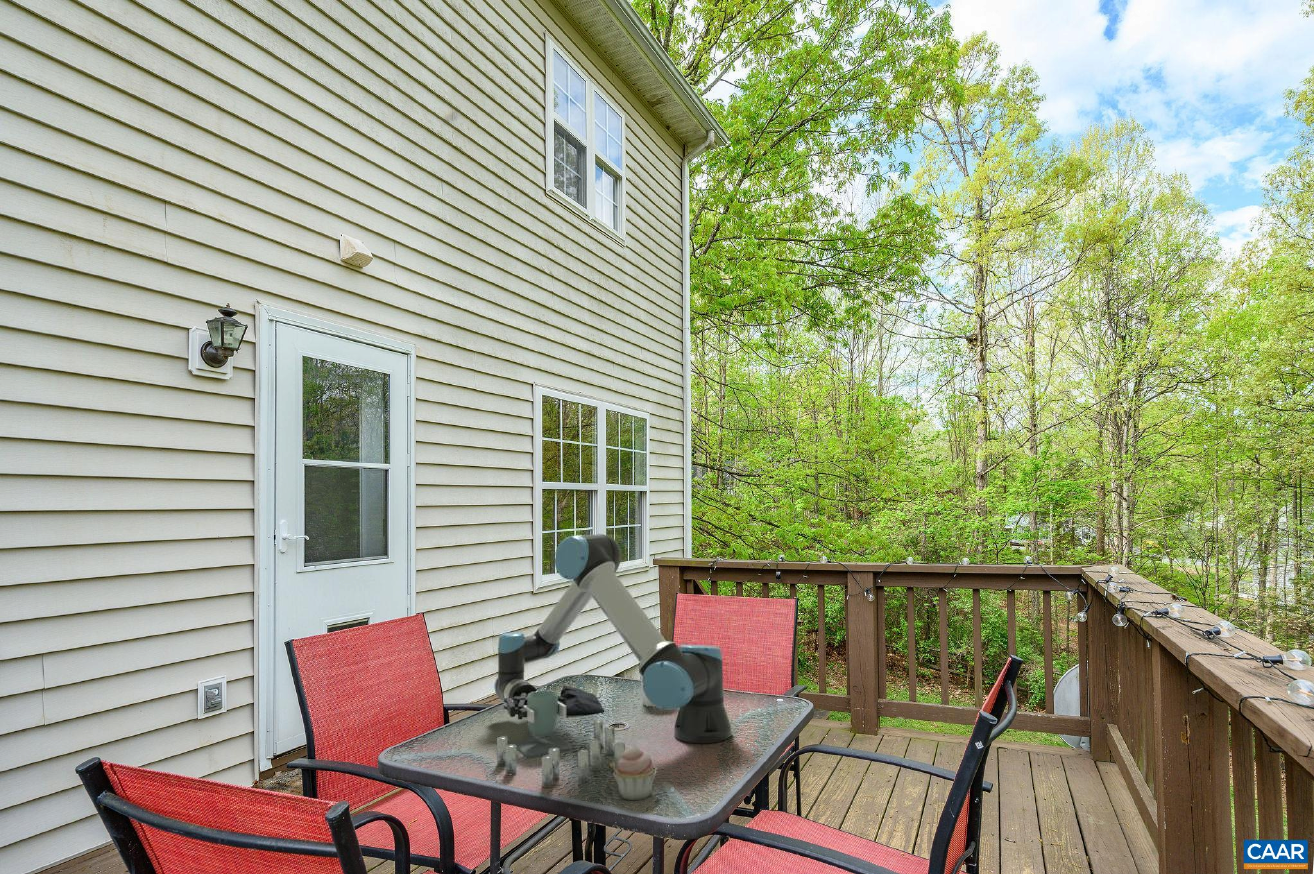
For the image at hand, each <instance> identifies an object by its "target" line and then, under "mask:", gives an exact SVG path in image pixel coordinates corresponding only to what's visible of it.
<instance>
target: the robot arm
mask: <svg viewBox="0 0 1314 874" xmlns="http://www.w3.org/2000/svg"><path fill="white" fill-rule="evenodd" d="M621 550H622V549H621V547H620V545H619V544H618V541H616V540H615V539H614V538H613V537H611V536H610V535H608V534H607V535H606V534H604V533H603V534H601V533H600V534H584V535H583V534H582V535H581V534H575V535H571V536H568V537H567V536H566V538H564V539H563V540H562V541H561V542H560V543H559V544H558V546H557V548H556V551H555V554H554V555H555V558H554V565H555V568H556V571H557V573H558V575H560V577H561V578H563V579H566V580H569V581H572V580H573V581H572V583H571V584H570V585H569V587H568V588H567V589H566V591H565V592H564V594H563V595H562V596H561V598H559V600H558V601H557V603H556V604H555V606H554V607H553V608H552V609H551V611H550V612H549V614H548V615H547V616H546V618H545V620H544V621H543V622H542V623H541V625H540V626H538V628H537V630H536V631H535V632H534V634H532V635H528V636H525V634H524V633H523V632H517V631H515V632H511V631H510V632H504V633H502V634H500V635H499V637H498V644H497V645H498V647H497V654H498V655H497V656H498V657H497V659H498V661H497V665H498V669H497V670H498V671H497V678H496V679H495V682H494V684H493V685H494V687H493V688H494V692H495V693H496V695H497V696H498V698H499V699H500V700H501V701H503V709H504V710H506V711H507V713H508V715H509V717H511V718H514V717H516V715H517V720H523V719H525V720H527V722H528V721H529V722H531V723H534V711H533V710H532V709H531V708H529V707H528V706H527V696H528V694H529V693H531V692H535V691H538V690H537V688H536V687H535V686H534V685H532V684H531V683H530V682H528V681H526V680H525V664H527V663H531V662H535V661H538V660H543V659H549V658H550V657H552V656H554V655H556V654H557V653H558V652H559V650H560V644H561V643H560V641H561V639H562V638H563V637H564V635H565V634H566V633H567V631H568V630H569V629H570V628H571V626H572V624H573V623H574V622H575V620H577V618H578V617H579V616H580V614H581V613H582V611H583V610H584V609H585V608H586V606H587V605H588V604H589V603H590V601H591V600H592V599H593V600H594V601H595V603H596V604H597V605H598V607H599V608H600V609H601V611H602V612H603V613H604V615H605V617H606V618H607V620H609V622H610V623H611V625H612V626H613V628H614V629H615V631H617V633H618V634H619V635H620V637H621V638H622V639H623V641H624V643H625V644H626V645H627V647H628V648H629V649H630V651H631V652H632V654H633V655H634V656H635V657H636V659H637V661H638V662H639V667H638V672H639V673H640V676H641V675H642V676H643V679H642V683H643V690H644V693H645V695H646V697H647V698H648V700H649V701H650V702H651V703H652V704H653V705H655V706H656V707H655V708H658V709H661V710H665V711H671V710H675V709H678V711H677V715H676V719H675V723H674V728H673V730H674V732H673V733H674V737H675V738H676V739H677V740H679V741H682V742H686V743H691V744H712V743H713V744H715V743H720V742H724V741H726V740H728V739H730V738H731V737H732V724H731V721H730V719H729V716H728V712H727V711H726V707H725V703H724V702H725V701H724V675H723V674H724V673H723V672H724V671H723V670H724V669H723V662H724V660H723V653H722V649H721V648H720V647H718V646H713V645H704V644H703V645H701V644H700V645H698V644H681V645H680V646H678V645H677V643H676V642H674V641H668V640H666V639H665V638H664V636H663V635H662V634H661V632H660V631H659V629H658V628H657V627H656V626H655V625H654V623H653V622H652V621H651V619H650V618H649V616H648V615H647V614H646V613H645V611H644V610H643V609H642V607H641V606H640V605H639V604H638V602H637V601H636V600H635V598H634V596H633V595H632V593H630V591H629V590H628V588H627V587H626V586H625V585H624V583H623V582H622V581H621V580H620V578H619V577H618V576H617V574H616V573H617V571H618V569H619V567H620V564H621V562H622V560H621V559H622V551H621ZM560 696H561V695H558V716H561V717H562V718H567V713H566V698H563V697H560ZM730 736H731V737H730ZM729 737H730V738H729ZM727 738H728V739H727ZM723 740H724V741H723ZM714 742H715V743H714Z"/></svg>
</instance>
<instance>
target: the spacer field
mask: <svg viewBox="0 0 1314 874" xmlns="http://www.w3.org/2000/svg"><path fill="white" fill-rule="evenodd" d="M615 731H616V730H615V727H614V726H605V727H604V720H602V719H595V720H593V740H590V741H589V750H587V749H580V750H578V751H577V781H578V782H579V781H581V782H580V783H585V782H584V781H587V782H588V780H589V781H590V771H592V772H594V771H595V772H596V771H600V770H601V748H603V747H604V749H605V751H604V752H605V753H604V754H605V755H606V754H607V755H606V756H611V755H612V756H613V755H614V760H612V761H611V762H610V769H611V770H612V771H614V769H615V768H617V764H618V761H619V760H620V758H622V756H623V753H624V752H625V750H626V749H628V748H629V747H626V743H624V742H616V734H615V733H616V732H615ZM508 738H509V737H508V736H499V737H497V738H496V739H497V740H496V745H497V748H496V752H497V753H496V765H497V766H498V765H499V766H498V767H503V766H502V765H506V766H505V775H506V774H514V775H516V774H517V748H516V745H515V744H513V743H511V744H508ZM560 765H561V763H560V752H559V748H551V749H549V754H547V755H542V757H541V787H542V788H543V789H550V788H549V787H551V788H553V787H554V780H553V779H555V780H558V779H560V778H559V777H561V776H560V775H561V774H560ZM515 773H516V774H515ZM552 786H553V787H552Z"/></svg>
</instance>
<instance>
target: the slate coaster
mask: <svg viewBox="0 0 1314 874" xmlns="http://www.w3.org/2000/svg"><path fill="white" fill-rule="evenodd" d="M512 744H515V745H516V750H518V751H519V752H520V753H521V752H522V753H521V754H522V755H524V757H526V759H530V758H535V757H541V756H545V755H549V749H551V748H559V753H561V752H562V753H563V752H567V751H572V749H573V750H574V746H572V745H571V744H570V743H569V742H567V741H566V740H565V739H563V738H562V737H561V736H559V735H557V734H556V735H548V736H543V737H539V738H534V739H528V740H522V741H515V742H512Z"/></svg>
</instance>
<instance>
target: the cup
mask: <svg viewBox="0 0 1314 874" xmlns="http://www.w3.org/2000/svg"><path fill="white" fill-rule="evenodd" d="M558 696H559V694H558V692H557V691H554V690H548V689H547V690H537V691H535V692H531V693H529V694H528V696H527V706H528V707H529V708H531V709H532V710H533V711H534V723H531V722H529V721H528V720H527V726H528V729H529V732H530V733H531V735H532V736H534V737H539V738H544V737H549V736H552V734H553V733H555V731H556V728H557V726H558V717H559V714H558Z"/></svg>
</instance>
